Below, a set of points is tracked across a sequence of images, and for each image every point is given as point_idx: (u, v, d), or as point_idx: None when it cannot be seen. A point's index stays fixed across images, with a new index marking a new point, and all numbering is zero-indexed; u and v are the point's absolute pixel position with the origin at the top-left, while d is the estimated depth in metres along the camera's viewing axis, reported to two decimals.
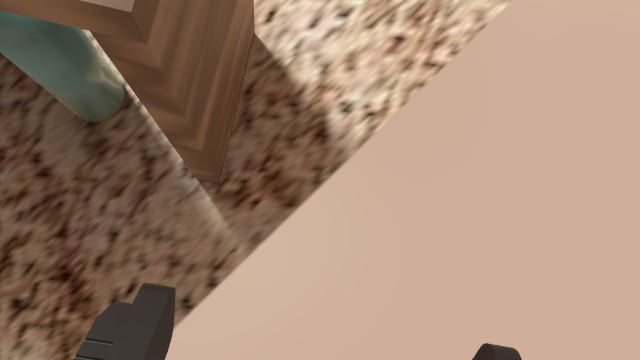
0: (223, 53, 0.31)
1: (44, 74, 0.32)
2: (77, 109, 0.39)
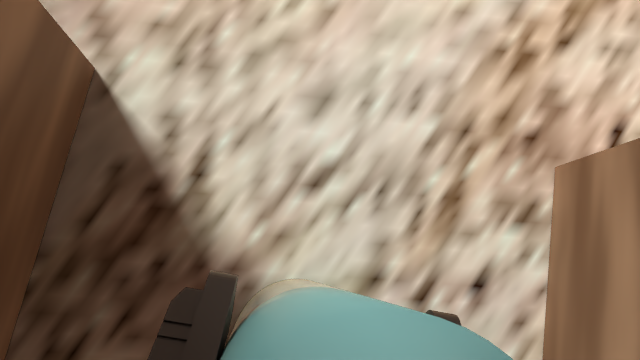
0: None
1: None
2: None
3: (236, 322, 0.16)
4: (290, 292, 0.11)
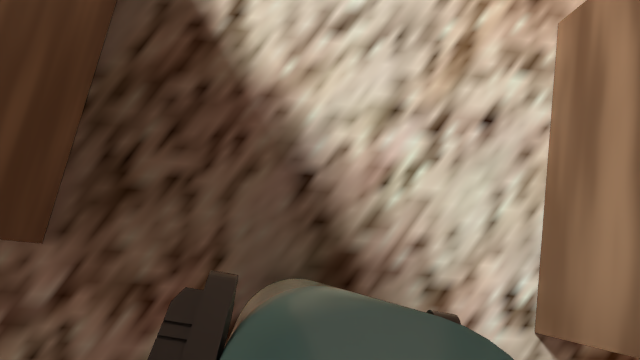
0: None
1: None
2: None
3: (236, 322, 0.16)
4: (290, 292, 0.11)
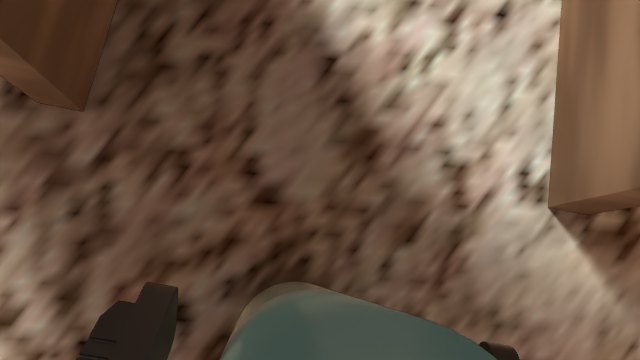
0: None
1: None
2: None
3: None
4: (288, 295, 0.11)
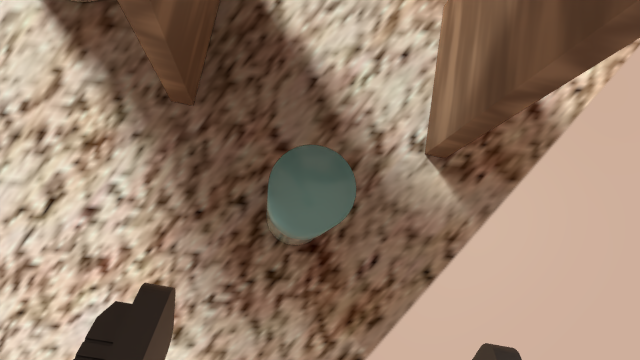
0: None
1: (311, 236, 0.29)
2: (295, 242, 0.36)
3: None
4: None
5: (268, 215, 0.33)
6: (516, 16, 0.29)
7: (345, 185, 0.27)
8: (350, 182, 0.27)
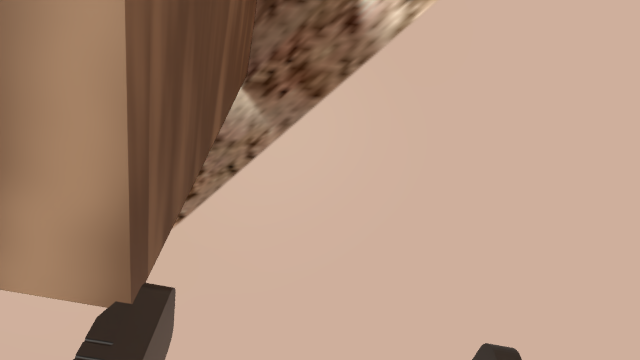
0: (226, 43, 0.29)
1: None
2: None
3: None
4: None
5: None
6: None
7: None
8: None
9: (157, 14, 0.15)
